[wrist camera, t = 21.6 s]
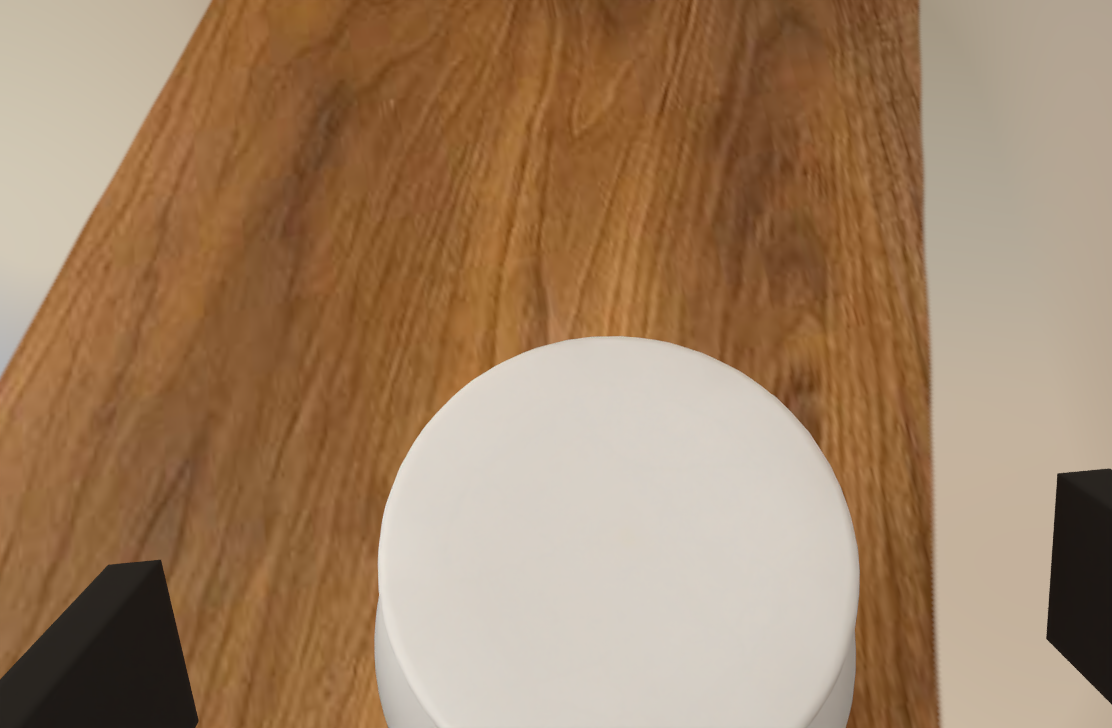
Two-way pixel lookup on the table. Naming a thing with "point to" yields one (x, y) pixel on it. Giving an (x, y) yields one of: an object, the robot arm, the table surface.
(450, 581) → the pill bottle
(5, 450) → the table surface
